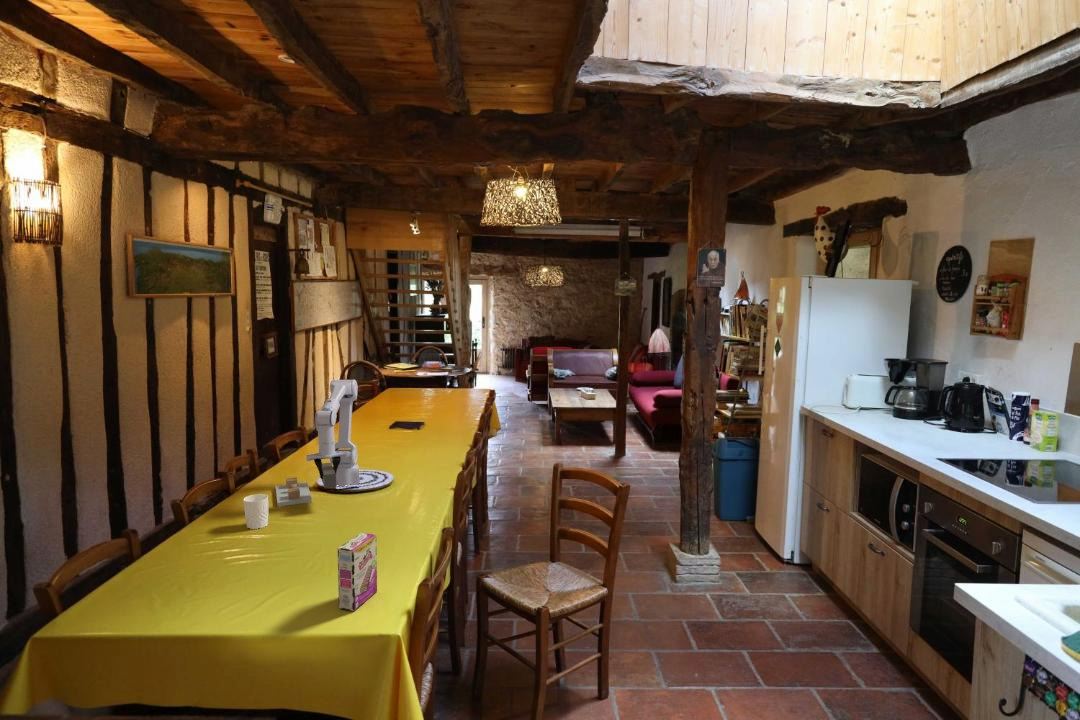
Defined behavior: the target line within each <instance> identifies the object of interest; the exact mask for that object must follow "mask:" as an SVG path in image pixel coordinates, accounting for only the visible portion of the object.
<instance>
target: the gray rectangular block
mask: <svg viewBox="0 0 1080 720" xmlns="http://www.w3.org/2000/svg"><path fill="white" fill-rule="evenodd" d="M322 475H323V479H321V481H322V483H323V484H322V485H323V487H324V489H330V488H335V487H336V473H335V471H334V469H333V465H332V464H331V462H325V463H324V462H322Z"/></svg>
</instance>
